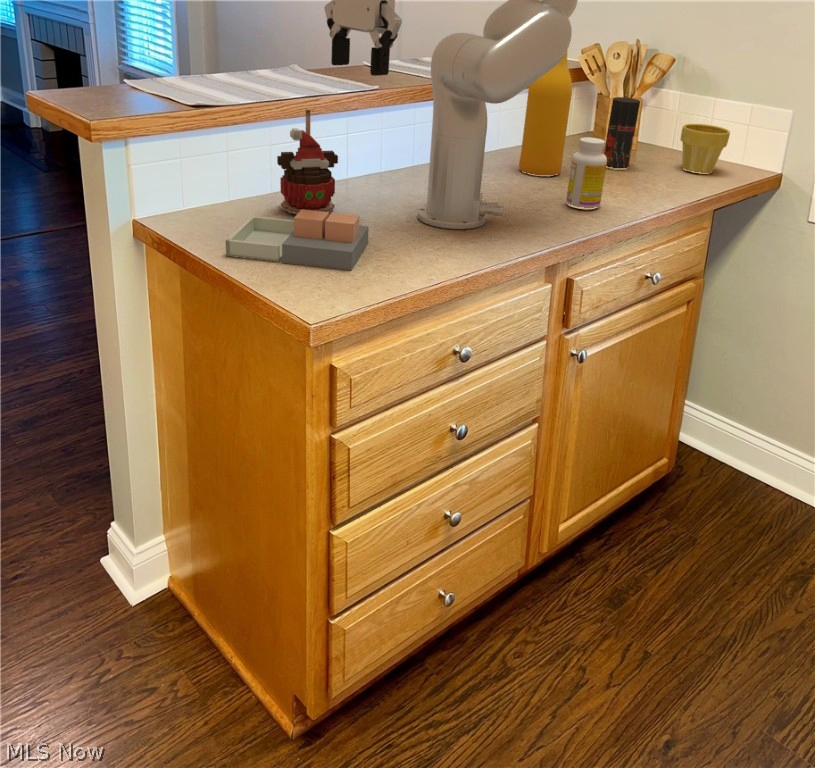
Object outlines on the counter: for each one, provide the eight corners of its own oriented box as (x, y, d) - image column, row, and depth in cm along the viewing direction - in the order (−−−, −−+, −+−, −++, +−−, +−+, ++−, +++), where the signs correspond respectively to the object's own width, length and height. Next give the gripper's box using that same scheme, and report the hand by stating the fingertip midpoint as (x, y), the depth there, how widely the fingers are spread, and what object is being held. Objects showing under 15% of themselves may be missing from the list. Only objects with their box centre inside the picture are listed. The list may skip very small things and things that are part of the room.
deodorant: (630, 171, 197) (642, 103, 190) (604, 169, 197) (615, 101, 190) (625, 164, 203) (636, 98, 195) (599, 163, 203) (610, 96, 195)
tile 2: (359, 233, 140) (359, 215, 139) (353, 242, 136) (353, 224, 135) (331, 230, 140) (332, 212, 139) (325, 239, 137) (325, 221, 135)
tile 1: (328, 230, 141) (328, 212, 139) (321, 239, 137) (322, 220, 135) (301, 227, 141) (301, 209, 140) (294, 236, 137) (294, 217, 136)
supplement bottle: (606, 207, 171) (617, 141, 165) (587, 213, 167) (598, 146, 161) (577, 199, 175) (587, 134, 169) (558, 204, 171) (568, 138, 165)
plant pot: (708, 165, 207) (718, 123, 202) (728, 177, 198) (738, 134, 193) (667, 164, 205) (675, 122, 200) (685, 176, 196) (694, 132, 191)
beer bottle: (531, 164, 198) (548, 27, 184) (567, 172, 193) (588, 32, 180) (510, 171, 191) (527, 30, 177) (548, 180, 187) (568, 35, 173)
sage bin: (300, 236, 146) (300, 221, 145) (278, 262, 135) (278, 246, 134) (252, 230, 147) (251, 215, 146) (226, 256, 136) (225, 240, 135)
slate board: (368, 243, 145) (368, 226, 143) (351, 270, 134) (352, 251, 132) (303, 236, 146) (303, 219, 145) (282, 262, 135) (282, 244, 134)
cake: (329, 202, 164) (330, 103, 156) (343, 217, 156) (345, 114, 148) (273, 204, 161) (271, 104, 152) (284, 220, 153) (283, 115, 144)
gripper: (422, -47, 125) (413, 77, 133) (348, -56, 136) (344, 60, 144) (382, -49, 121) (376, 80, 129) (308, -57, 132) (307, 62, 140)
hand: (359, 69), depth 136 cm, fingers open, 9 cm apart
